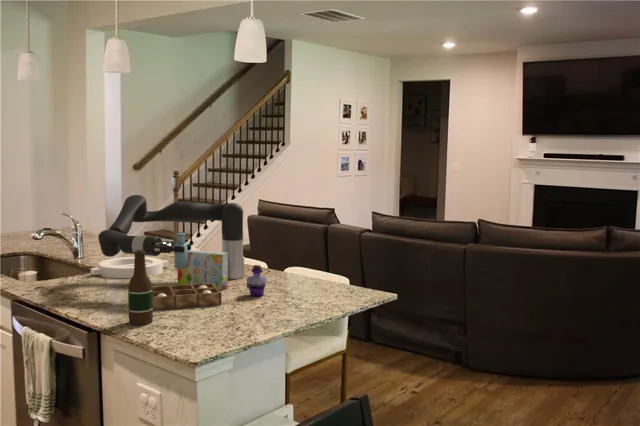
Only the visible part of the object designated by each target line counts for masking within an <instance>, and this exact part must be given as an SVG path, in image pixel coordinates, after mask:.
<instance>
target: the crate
mask: <svg viewBox="0 0 640 426" xmlns="http://www.w3.org/2000/svg"><path fill="white" fill-rule="evenodd" d="M202 285H204V286H207V288H199V287H200V286H202ZM198 288H199V289H198ZM205 290H209V291H211V292H212V293H203V292H204V291H205ZM160 293H164V294H166V295H167V296H159V297H157V295H158V294H160ZM202 293H203V294H202ZM152 298H153V311H158V310H159V311H160V310H172V309H185V308H186V309H187V308H197V307H200V306H201V307H213V306H214V307H215V306H221V305H222V292H221V290H219V289H218V288H217V287H216V286H215V285H214V284H213V283H201V284H185V285H178V284H172V285H157V286H156V285H155V286H153V285H152Z"/></svg>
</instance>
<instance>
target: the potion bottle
mask: <svg viewBox="0 0 640 426" xmlns="http://www.w3.org/2000/svg"><path fill="white" fill-rule="evenodd" d="M251 273H253V275H251V276H247V277H246V289H248V291H249V293H250V295H249V296H250V297H253V298H260V297H264V293H265V288H266V284H267V281H268V277H267V276H264V275H261V273H263V268H262V266H261V265H259V264H258V265H257V264H254V265H253V268H251Z"/></svg>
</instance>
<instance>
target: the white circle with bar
mask: <svg viewBox="0 0 640 426" xmlns="http://www.w3.org/2000/svg"><path fill="white" fill-rule="evenodd" d="M134 261H135V256H125V257H114V258H110V259H105V260H103V261H100V262H99V263H98V267H92V268H90V275H93V276H95V275H97V276H98V275H100V276H101V277H104V278H105V277H106V278H110V279H131V278H132V276H133V274H134ZM145 266H146V274H147V276H148V277H152V276H156V275H159V274H161V273H162V272H163V268H167V267H169V266H170V261H169V260H167V259H165V260H162V259H160V258H156V257H151V256H147V257H146V256H145Z"/></svg>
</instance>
